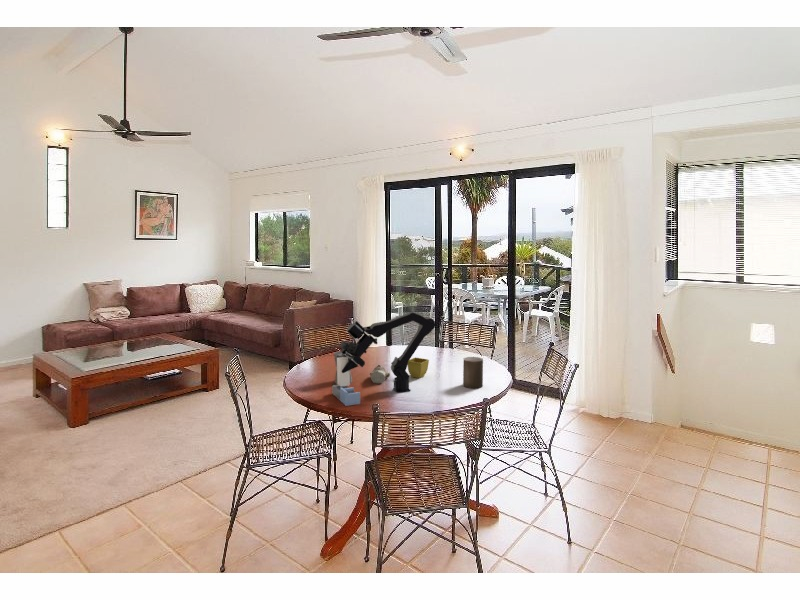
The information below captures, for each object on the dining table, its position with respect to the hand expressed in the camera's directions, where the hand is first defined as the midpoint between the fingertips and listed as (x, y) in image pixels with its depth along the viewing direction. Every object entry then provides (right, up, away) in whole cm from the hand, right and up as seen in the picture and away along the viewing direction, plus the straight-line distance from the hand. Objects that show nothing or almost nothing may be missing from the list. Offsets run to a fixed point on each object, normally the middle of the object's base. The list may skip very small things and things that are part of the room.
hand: (340, 371), depth 226 cm
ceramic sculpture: (+17, -9, +26) cm, 32 cm away
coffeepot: (-1, -9, +25) cm, 26 cm away
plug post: (+1, -7, +1) cm, 7 cm away
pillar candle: (+64, -10, +18) cm, 67 cm away
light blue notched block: (+5, -13, -6) cm, 15 cm away
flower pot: (+37, -8, +33) cm, 51 cm away
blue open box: (+1, -12, +2) cm, 12 cm away
